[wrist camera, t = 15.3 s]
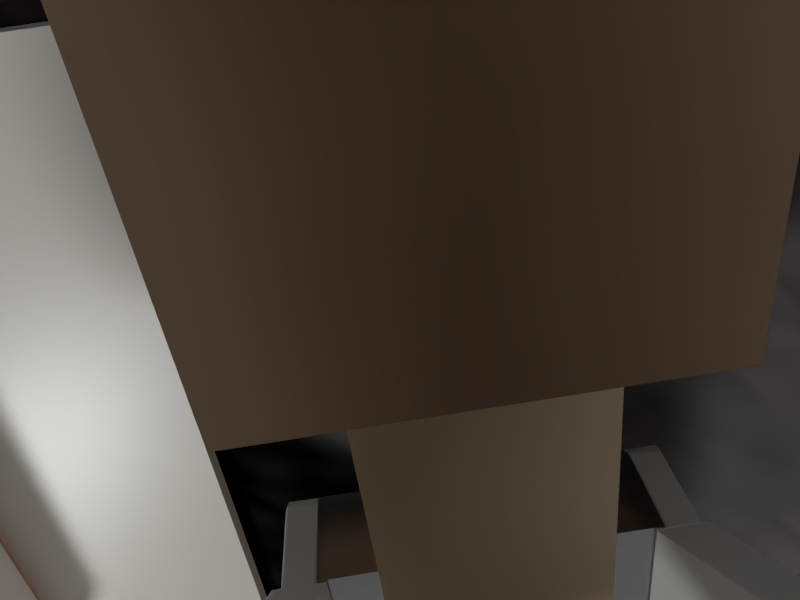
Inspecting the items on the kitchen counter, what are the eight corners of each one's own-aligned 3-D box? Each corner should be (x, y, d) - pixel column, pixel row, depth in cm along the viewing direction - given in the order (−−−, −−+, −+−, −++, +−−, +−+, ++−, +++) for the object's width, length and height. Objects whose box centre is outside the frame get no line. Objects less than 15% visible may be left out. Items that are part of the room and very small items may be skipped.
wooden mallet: (644, -171, 8) (861, -202, 5) (607, 659, 17) (676, 853, 14) (142, -95, 8) (12, -75, 5) (364, 697, 17) (372, 902, 14)
